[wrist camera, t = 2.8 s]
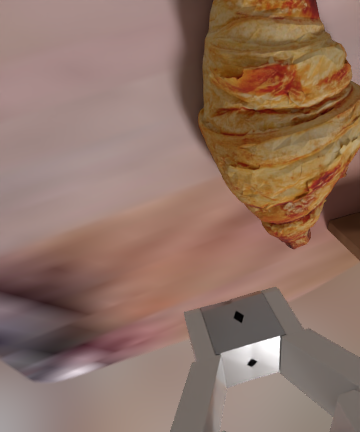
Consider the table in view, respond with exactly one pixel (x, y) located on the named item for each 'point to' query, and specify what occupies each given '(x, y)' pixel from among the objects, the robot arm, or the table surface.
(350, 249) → the frame
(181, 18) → the table surface
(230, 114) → the croissant
